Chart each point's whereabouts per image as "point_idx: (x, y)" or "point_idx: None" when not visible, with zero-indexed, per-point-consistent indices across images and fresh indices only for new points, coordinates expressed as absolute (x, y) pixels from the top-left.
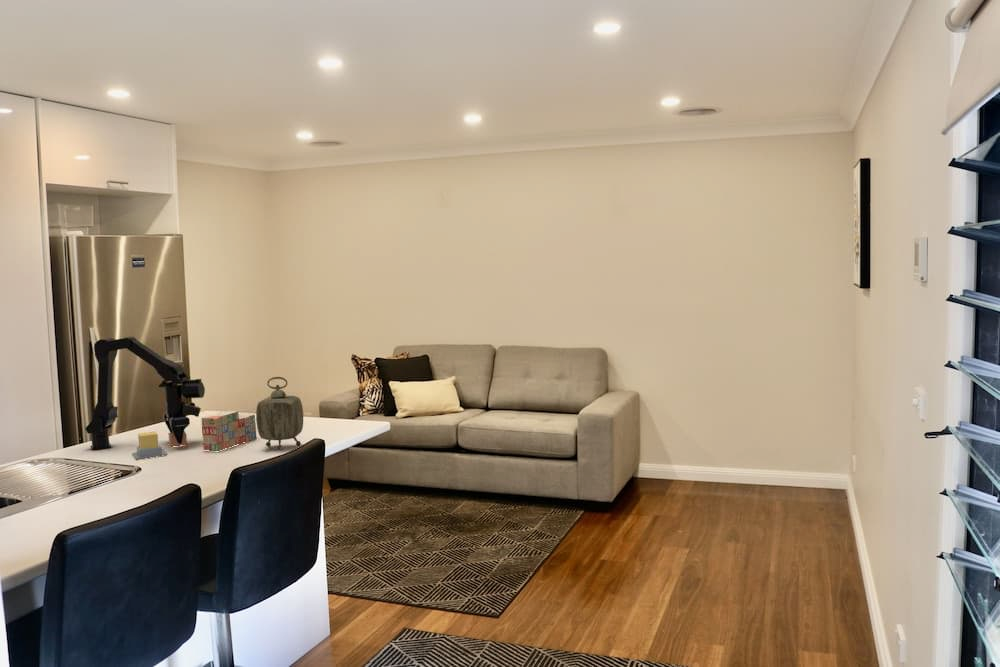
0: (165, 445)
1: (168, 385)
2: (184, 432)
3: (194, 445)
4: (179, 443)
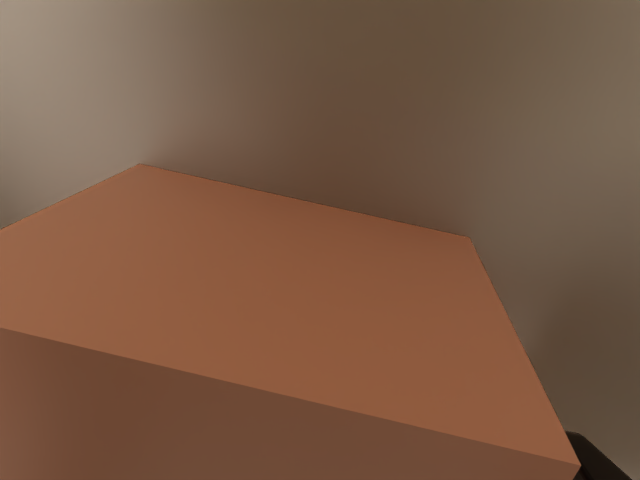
0: None
1: None
2: (205, 406)
3: (622, 111)
4: None
